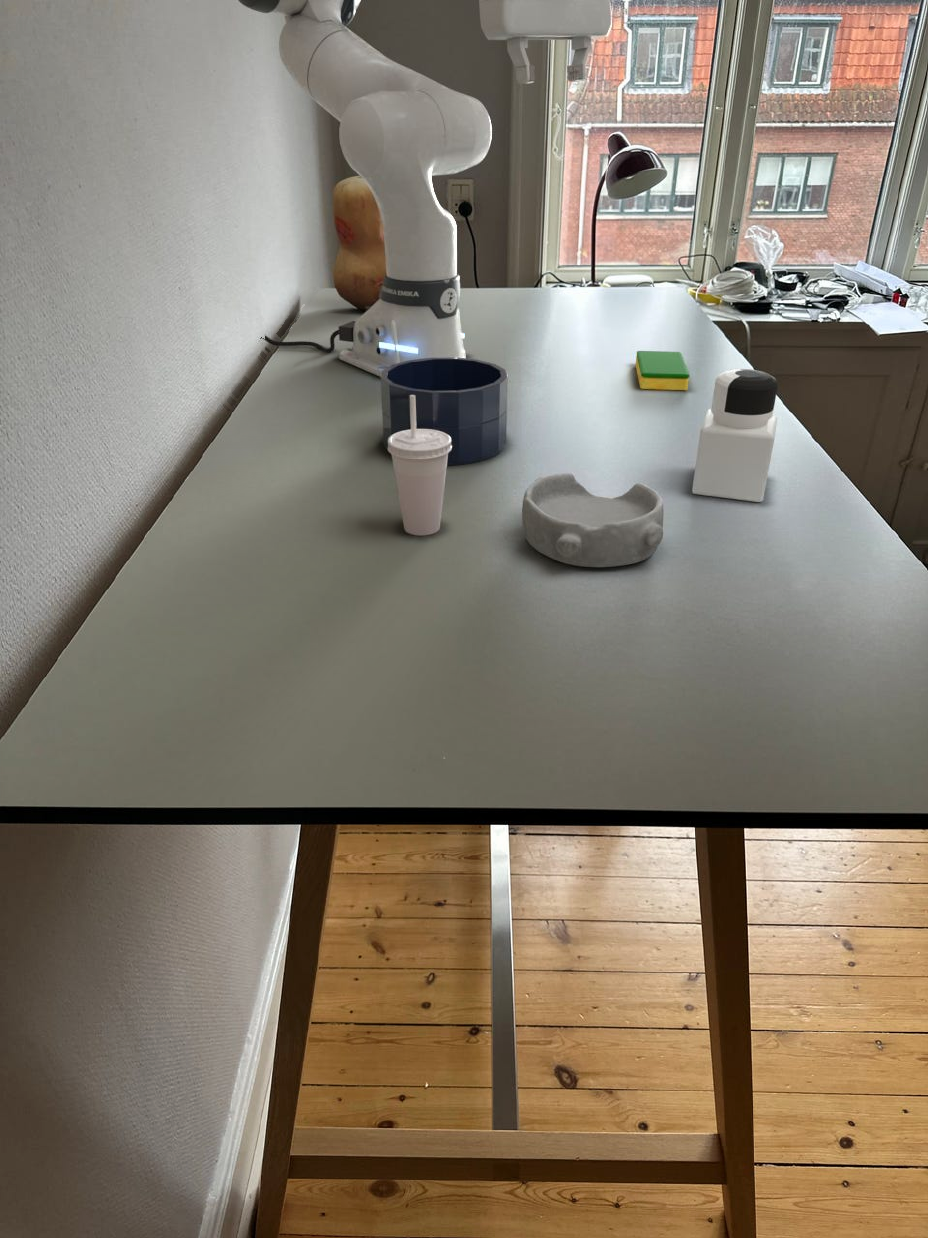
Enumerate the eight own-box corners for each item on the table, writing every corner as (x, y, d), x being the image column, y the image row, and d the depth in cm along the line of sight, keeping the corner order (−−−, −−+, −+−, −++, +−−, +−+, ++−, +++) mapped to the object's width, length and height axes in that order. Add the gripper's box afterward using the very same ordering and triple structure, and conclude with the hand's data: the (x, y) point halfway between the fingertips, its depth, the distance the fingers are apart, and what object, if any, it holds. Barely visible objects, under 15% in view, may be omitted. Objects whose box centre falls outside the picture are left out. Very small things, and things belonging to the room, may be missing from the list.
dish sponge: (679, 366, 146) (681, 351, 145) (687, 390, 134) (689, 374, 133) (635, 364, 147) (636, 350, 145) (640, 389, 135) (641, 373, 134)
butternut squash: (323, 308, 184) (312, 174, 171) (374, 299, 191) (368, 170, 178) (364, 319, 175) (356, 178, 162) (416, 309, 183) (412, 174, 170)
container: (765, 478, 104) (786, 367, 97) (762, 503, 98) (784, 387, 91) (698, 470, 106) (714, 361, 100) (691, 494, 100) (707, 379, 93)
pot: (359, 444, 114) (354, 374, 109) (443, 416, 124) (442, 350, 119) (446, 475, 105) (445, 400, 100) (530, 442, 115) (532, 372, 110)
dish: (519, 512, 96) (521, 469, 93) (648, 514, 95) (653, 470, 93) (523, 576, 83) (524, 527, 81) (671, 578, 83) (677, 529, 80)
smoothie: (390, 516, 95) (384, 386, 88) (450, 514, 96) (449, 385, 88) (391, 542, 90) (385, 406, 82) (454, 539, 90) (453, 404, 83)
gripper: (583, -45, 112) (586, 82, 119) (466, -54, 100) (476, 87, 107) (623, -56, 108) (624, 76, 114) (505, -68, 96) (514, 81, 103)
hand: (551, 82), depth 110 cm, fingers open, 8 cm apart
